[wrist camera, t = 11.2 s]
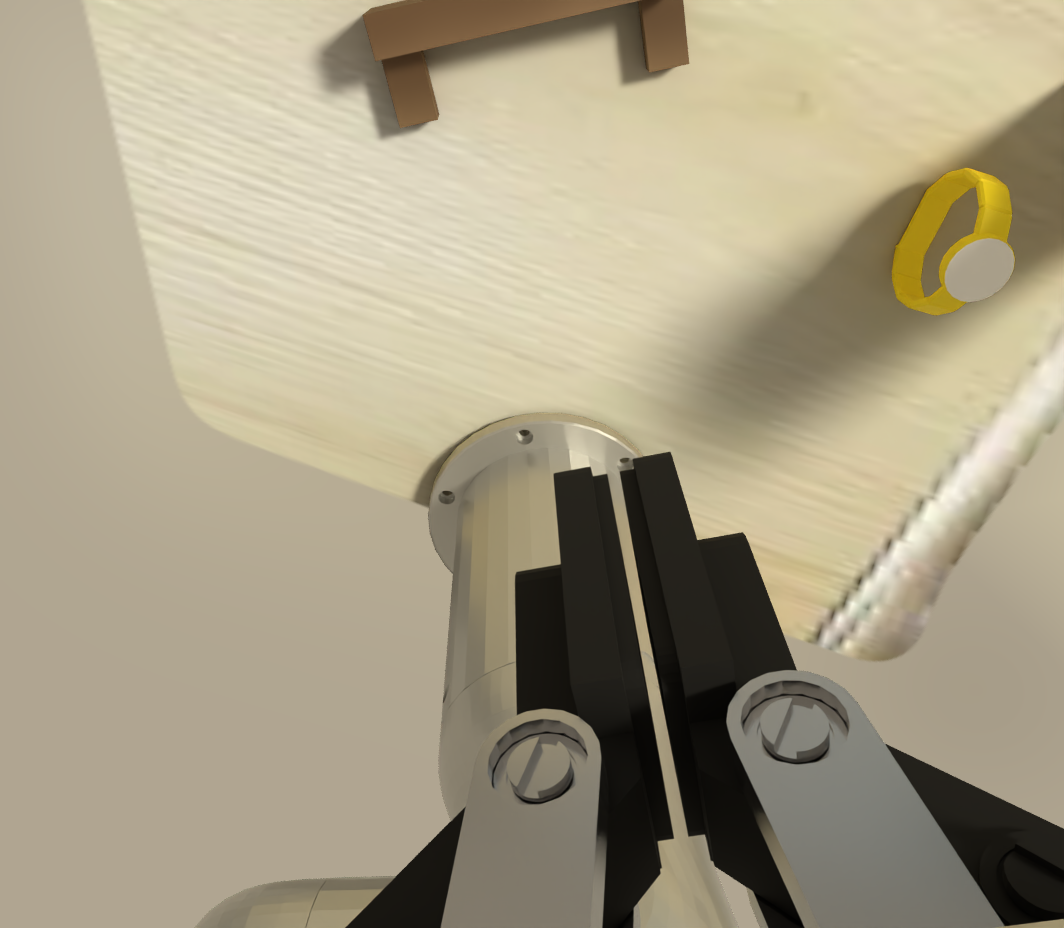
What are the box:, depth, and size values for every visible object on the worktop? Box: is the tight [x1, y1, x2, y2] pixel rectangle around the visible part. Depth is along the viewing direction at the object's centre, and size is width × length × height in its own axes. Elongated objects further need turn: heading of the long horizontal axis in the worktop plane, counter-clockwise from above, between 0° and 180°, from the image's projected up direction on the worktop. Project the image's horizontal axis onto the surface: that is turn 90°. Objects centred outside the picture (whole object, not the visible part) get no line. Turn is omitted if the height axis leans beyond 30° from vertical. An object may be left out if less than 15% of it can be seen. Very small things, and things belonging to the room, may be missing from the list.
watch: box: [892, 168, 1015, 315], centre depth 37 cm, size 6×3×6 cm, turn 164°
